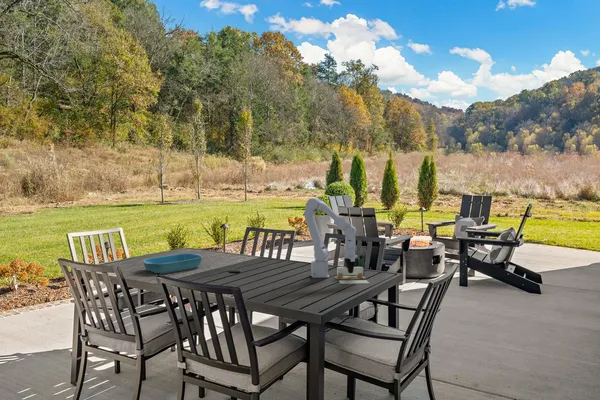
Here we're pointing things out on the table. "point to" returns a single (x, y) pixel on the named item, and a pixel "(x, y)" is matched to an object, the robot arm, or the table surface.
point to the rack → (350, 277)
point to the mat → (354, 282)
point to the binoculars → (360, 262)
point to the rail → (345, 272)
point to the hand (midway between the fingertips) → (350, 272)
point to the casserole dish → (172, 263)
